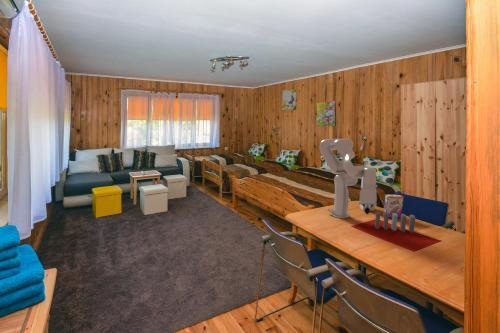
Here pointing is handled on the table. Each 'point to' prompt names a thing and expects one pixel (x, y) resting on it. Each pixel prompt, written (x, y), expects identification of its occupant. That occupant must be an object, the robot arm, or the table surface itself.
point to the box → (366, 204)
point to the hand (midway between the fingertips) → (367, 213)
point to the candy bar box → (393, 205)
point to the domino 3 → (394, 221)
